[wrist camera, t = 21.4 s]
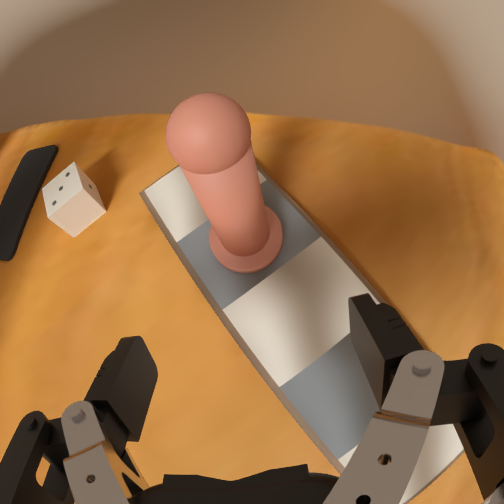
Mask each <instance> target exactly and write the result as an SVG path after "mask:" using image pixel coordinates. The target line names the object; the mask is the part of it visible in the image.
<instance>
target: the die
mask: <svg viewBox="0 0 504 504" xmlns="http://www.w3.org/2000/svg"><path fill="white" fill-rule="evenodd" d="M42 192H43V197H44V202H45V207H46V212H47V216H48V219H50V220H51V221H52V222H54V223H55V224H56V225H57V226H59V227H60V228H61V229H63V230H64V231H65V232H67V233H68V234H69V235H71V236H72V237H73V238H75V237H76V236H77V235H78V234H79V233H81V232H82V231H83V230H84V229H86V228H87V227H88V226H89V225H90V224H92V223H93V222H94V221H96V220H97V219H98V218H99V217H101V216H102V215H103V214H105V213H106V212H107V211H106V209H105V207H104V204H103V202H102V200H101V197H100V195H99V192H98V190H97V187H96V185H95V184H94V183H93V182H92V180H91V179H90V178H89V177H88V176H87V175H86V174H85V173H84V172H83V171H82V169H81V168H80V167H79V166H78V165H77V164H76V163H75V162H73V163H72V164H70V165H69V166H68V167H67V168H66V169H64V170H63V171H62V172H61V173H59V174H58V175H57V176H56V177H55V178H54V179H52V180H51V181H50V182H49V183H48V184H47V185H46V186H44V187H43V188H42Z"/></svg>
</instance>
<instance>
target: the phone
mask: <svg viewBox="0 0 504 504" xmlns="http://www.w3.org/2000/svg"><path fill="white" fill-rule="evenodd" d="M57 153H58V148H57V147H56V146H55V145H50V146H46V147H42V148H38V149H34V150H30V151H28V152H27V153H26V154H25V155H24V157H23V158H22V160H21V162H20V164H19V166H18V168H17V170H16V172H15V174H14V176H13V178H12V180H11V182H10V184H9V187H8V189H7V191H6V193H5V195H4V198H3V200H2V202H1V205H0V260H4V261H10V260H11V259H12V258H13V257H14V255H15V253H16V250H17V247H18V244H19V241H20V238H21V235H22V233H23V230H24V227H25V225H26V222H27V219H28V217H29V214H30V212H31V209H32V207H33V204H34V202H35V200H36V197H37V195H38V193H39V190H40V188H41V186H42V184H43V182H44V179H45V177H46V175H47V173H48V171H49V169H50V167H51V165H52V163H53V161H54V159H55V157H56V155H57Z"/></svg>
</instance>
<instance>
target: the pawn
mask: <svg viewBox="0 0 504 504" xmlns="http://www.w3.org/2000/svg"><path fill="white" fill-rule="evenodd" d="M250 138H251V127H250V122H249V119H248V117H247V115H246V113H245V111H244V110H243V109H242V107H241V106H240V105H239V104H238V103H237V102H236V101H234V100H233V99H231V98H229V97H227V96H225V95H222V94H218V93H201V94H196V95H194V96H191V97H189V98H187V99H186V100H184V101H183V102H181V103H180V104H179V105H178V106H177V107H176V108H175V110H174V111H173V112H172V114H171V116H170V117H169V120H168V123H167V126H166V144H167V148H168V150H169V152H170V154H171V156H172V157H173V159H174V160H175V161H176V162H177V163H178V164H179V166H180V168H181V170H182V172H183V173H184V175H185V177H186V179H187V181H188V183H189V185H190V186H191V188H192V190H193V192H194V194H195V196H196V197H197V199H198V201H199V203H200V205H201V207H202V208H203V210H204V212H205V214H206V216H207V217H208V219H209V221H210V223H211V227H210V230H209V244H210V248H211V250H212V252H213V254H214V255H215V257H216V258H217V260H218V261H219V262H220V264H221V265H223V266H224V267H225V268H227V269H228V270H230V271H233V272H236V273H241V274H249V273H255V272H258V271H261V270H263V269H265V268H266V267H268V266H269V265H270V264H272V263H273V262H274V261H275V259H276V258H277V257H278V255H279V253H280V251H281V248H282V244H283V233H282V226H281V223H280V220H279V218H278V216H277V215H276V214H275V212H274V211H273V210H271V209H270V208H269V207H267V206H265V205H264V200H263V195H262V190H261V186H260V181H259V176H258V171H257V167H256V162H255V157H254V153H253V148H252V143H251V139H250Z"/></svg>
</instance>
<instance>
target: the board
mask: <svg viewBox="0 0 504 504" xmlns="http://www.w3.org/2000/svg"><path fill="white" fill-rule="evenodd" d="M256 167H257V171H258V176H259V181H260V186H261V190H262V195H263V200H264V205H265V206H267V207H269V208H270V209H271V210H273V211H274V212H275V214H276V215H277V216H278V218H279V220H280V223H281V226H282V233H283V244H282V248H281V251H280V253H279V255H278V257H277V258H276V259H275V261H274V262H273V263H272V264H270V265H269V266H268V267H266V268H265V269H263V270H261V271H258V272H255V273H249V274H241V273H236V272H233V271H230V270H228V269H227V268H225V267H224V266H223V265H221V264H220V262H219V261H218V260H217V258H216V257H215V255H214V254H213V252H212V250H211V248H210V244H209V230H210V227H211V223H210V221H209V219H208V217H207V216H206V214H205V212H204V210H203V208H202V207H201V205H200V203H199V201H198V199H197V197H196V196H195V194H194V192H193V190H192V188H191V186H190V185H189V183H188V181H187V179H186V177H185V175H184V173H183V172H182V170H181V168H180V166H179V165H178V166H177V167H175V168H174V169H172V170H171V171H169V172H168V173H167V174H165V175H164V176H162V177H161V178H159V179H158V180H157V181H155V182H154V183H152V184H151V185H150V186H148V187H147V188H145V189H144V190H143V191H141V192H140V193H139V194H140V196H141V197H142V199H143V201H144V202H145V204H146V206H147V207H148V209H149V211H150V212H151V214H152V216H153V217H154V219H155V221H156V222H157V224H158V225H159V227H160V229H161V230H162V232H163V234H164V235H165V237H166V238H167V240H168V241H169V243H170V245H171V246H172V248H173V249H174V251H175V253H176V254H177V256H178V257H179V259H180V260H181V262H182V263H183V265H184V266H185V268H186V270H187V271H188V273H189V274H190V276H191V277H192V279H193V280H194V282H195V283H196V285H197V286H198V288H199V289H200V291H201V292H202V294H203V295H204V297H205V298H206V300H207V301H208V302H209V304H210V305H211V307H212V308H213V310H214V311H215V313H216V314H217V316H218V317H219V318H220V320H221V321H222V323H223V324H224V326H225V327H226V328H227V330H228V331H229V333H230V334H231V336H232V337H233V338H234V340H235V341H236V343H237V344H238V345H239V347H240V348H241V349H242V351H243V352H244V354H245V355H246V356H247V358H248V359H249V360H250V362H251V363H252V365H253V366H254V367H255V369H256V370H257V371H258V373H259V374H260V375H261V377H262V378H263V379H264V381H265V382H266V383H267V385H268V386H269V387H270V389H271V390H272V391H273V392H274V394H275V395H276V396H277V398H278V399H279V400H280V402H281V403H282V404H283V405H284V407H285V408H286V409H287V410H288V412H289V413H290V414H291V416H292V417H293V418H294V419H295V421H296V422H297V423H298V424H299V426H300V427H301V428H302V429H303V430H304V432H305V433H306V434H307V435H308V437H309V438H310V439H311V440H312V441H313V443H314V444H315V445H316V446H317V447H318V449H319V450H320V451H321V452H322V453H323V455H324V456H325V457H326V458H327V459H328V461H329V462H330V463H331V464H332V465H333V466H334V468H335V469H336V470H337V471H338V472H339V473H340V474H342V472H343V471H344V469H345V467H346V466H347V464H348V462H349V460H350V459H351V457H352V455H353V453H354V451H355V450H356V448H357V446H358V444H359V442H360V440H361V438H362V437H363V435H364V433H365V431H366V429H367V427H368V425H369V423H370V421H371V419H372V417H373V415H374V414H375V412H379V411H380V409H379V406H378V404H377V401H376V399H375V396H374V394H373V391H372V389H371V387H370V384H369V382H368V379H367V377H366V375H365V372H364V370H363V368H362V365H361V363H360V361H359V358H358V356H357V354H356V351H355V349H354V347H353V344H352V340H351V335H350V322H349V307H348V299H349V297H353V296H357V295H361V294H365V293H369V294H370V296H371V297H372V299H373V300H374V302H375V303H376V305H377V304H380V303H386V302H385V301H384V299H383V298H382V297H381V296H380V295H379V294H378V292H377V291H376V290H375V289H374V288H373V287H372V285H371V284H370V283H369V282H368V281H367V280H366V278H365V277H364V276H363V275H362V274H361V273H360V272H359V271H358V269H357V268H356V267H355V266H354V265H353V264H352V263H351V261H350V260H349V259H348V258H347V257H346V256H345V255H344V254H343V253H342V251H341V250H340V249H339V248H338V247H337V246H336V245H335V244H334V243H333V242H332V240H331V239H330V238H329V237H328V236H327V235H326V234H325V233H324V232H323V231H322V230H321V229H320V228H319V226H318V225H317V224H316V223H315V222H314V221H313V220H312V219H311V218H310V217H309V216H308V215H307V214H306V213H305V212H304V211H303V210H302V209H301V208H300V206H299V205H298V204H297V203H296V202H295V201H294V200H293V199H292V198H291V197H290V196H289V195H288V194H287V193H286V192H285V191H284V190H283V189H282V188H281V187H280V186H279V185H278V184H277V183H276V182H275V181H274V180H273V179H272V178H271V177H270V176H269V175H268V174H267V173H266V172H265V171H264V170H263V169H262V168H261V167H260V166H259V165H258V164H257V163H256ZM386 304H387V303H386ZM422 348H423V347H422ZM464 452H465V450H464V448H463V446H462V443H461V441H460V439H459V437H458V434H457V432H456V430H455V428H454V425H453V424H446V425H437V426H429V430H428V433H427V436H426V439H425V442H424V445H423V447H422V450H421V453H420V456H419V458H418V461H417V464H416V466H415V469H414V471H413V474H412V476H411V478H410V481H409V483H408V485H407V488H406V490H405V492H404V494H403V497H402V499H401V501H400V503H399V504H407V503H409V502H410V501H411V500H412V499H414V498H415V497H416V496H417V495H418V494H420V493H421V492H422V491H423V490H424V489H426V488H427V487H428V486H429V485H430V484H431V483H432V482H434V481H435V480H436V479H437V478H438V477H439V476H440V475H441V474H442V473H443V472H445V471H446V470H447V469H448V468H449V467H450V466H451V465H452V464H453V463H454V462H455V461H456V460H457V459H458V458H459V457H460V456H461V455H462V454H463V453H464Z"/></svg>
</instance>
